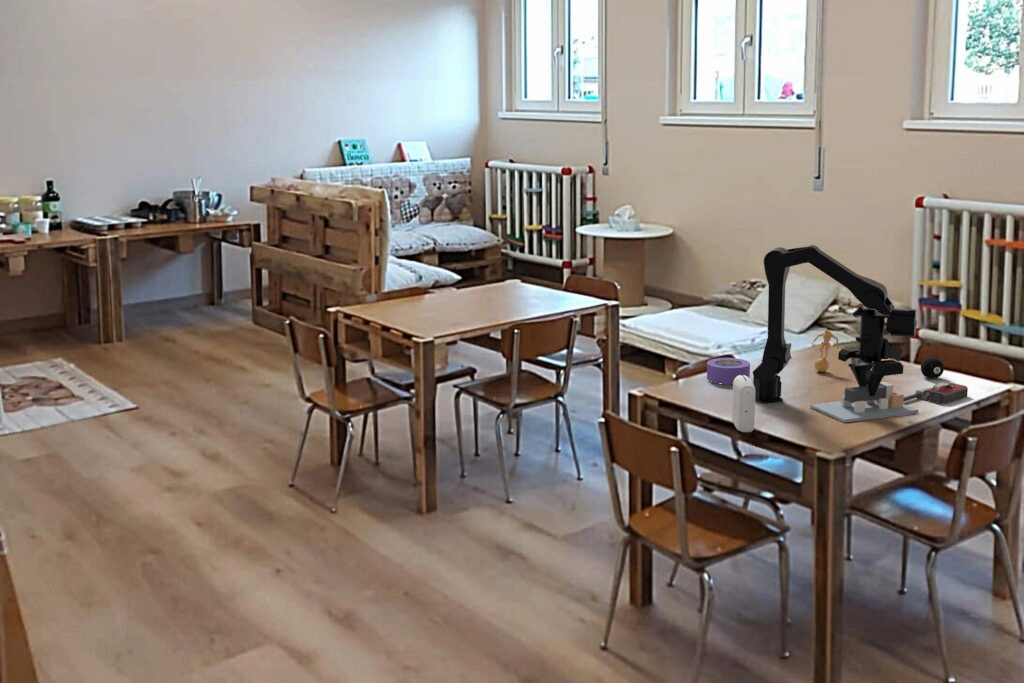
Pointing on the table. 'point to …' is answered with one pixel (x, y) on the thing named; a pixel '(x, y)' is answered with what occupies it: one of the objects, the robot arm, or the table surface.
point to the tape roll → (727, 369)
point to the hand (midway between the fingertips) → (868, 394)
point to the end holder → (895, 400)
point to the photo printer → (743, 404)
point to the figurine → (822, 363)
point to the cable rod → (863, 393)
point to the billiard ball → (932, 367)
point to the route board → (862, 410)
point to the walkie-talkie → (941, 393)
